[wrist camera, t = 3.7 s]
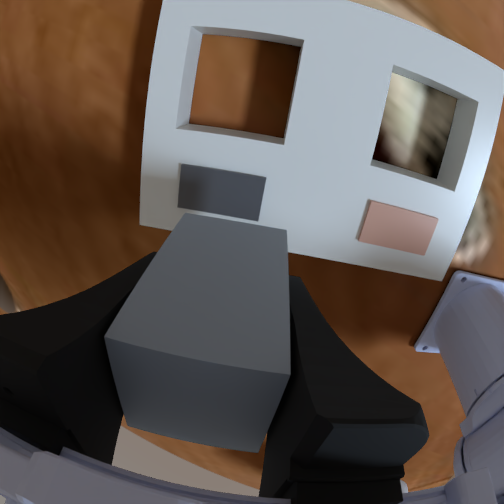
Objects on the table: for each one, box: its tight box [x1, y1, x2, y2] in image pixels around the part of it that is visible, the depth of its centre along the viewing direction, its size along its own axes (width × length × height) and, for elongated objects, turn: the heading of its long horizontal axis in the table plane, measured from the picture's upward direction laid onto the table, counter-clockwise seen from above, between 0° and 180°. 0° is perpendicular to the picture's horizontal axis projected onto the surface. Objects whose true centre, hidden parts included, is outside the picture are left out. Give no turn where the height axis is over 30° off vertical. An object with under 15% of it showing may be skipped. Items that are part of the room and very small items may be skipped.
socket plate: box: [140, 0, 504, 281], centre depth 15 cm, size 19×14×3 cm
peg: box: [104, 213, 291, 453], centre depth 10 cm, size 4×4×7 cm
